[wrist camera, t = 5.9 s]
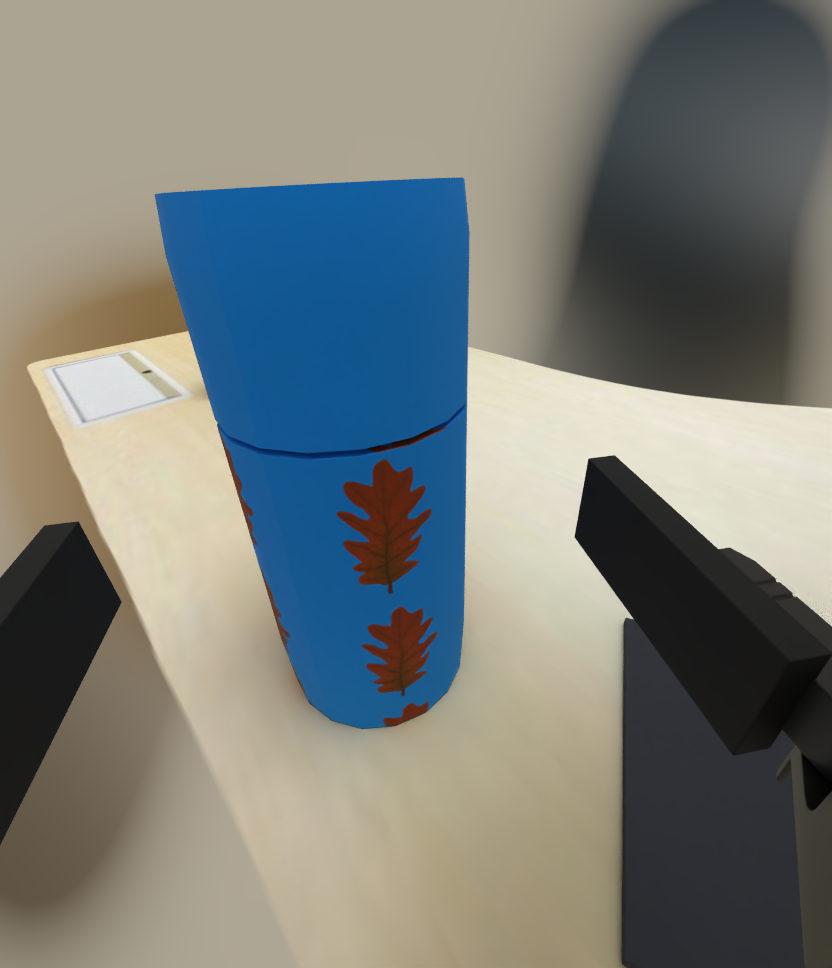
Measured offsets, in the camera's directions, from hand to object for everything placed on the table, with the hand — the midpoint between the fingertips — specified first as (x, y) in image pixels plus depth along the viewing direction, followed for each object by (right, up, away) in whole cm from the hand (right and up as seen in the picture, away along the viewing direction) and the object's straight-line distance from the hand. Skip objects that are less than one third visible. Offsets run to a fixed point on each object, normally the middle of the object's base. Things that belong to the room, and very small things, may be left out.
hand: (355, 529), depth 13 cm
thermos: (-1, -10, +17) cm, 20 cm away
